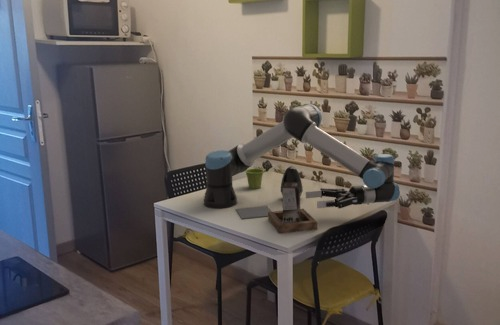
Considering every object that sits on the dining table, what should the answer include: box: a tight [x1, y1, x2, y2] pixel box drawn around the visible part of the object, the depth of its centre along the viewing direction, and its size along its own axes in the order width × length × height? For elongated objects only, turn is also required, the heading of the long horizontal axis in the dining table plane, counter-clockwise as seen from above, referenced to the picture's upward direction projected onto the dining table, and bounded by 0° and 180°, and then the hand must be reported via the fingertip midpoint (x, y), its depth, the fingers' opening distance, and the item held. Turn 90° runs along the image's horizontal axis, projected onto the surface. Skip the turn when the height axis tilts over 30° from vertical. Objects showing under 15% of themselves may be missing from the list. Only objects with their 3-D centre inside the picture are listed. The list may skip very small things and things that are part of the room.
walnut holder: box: [267, 208, 318, 234], centre depth 196 cm, size 15×17×3 cm
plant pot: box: [244, 168, 265, 190], centre depth 250 cm, size 9×9×9 cm
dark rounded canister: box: [280, 165, 304, 197], centre depth 228 cm, size 10×10×15 cm
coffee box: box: [282, 182, 301, 224], centre depth 195 cm, size 9×6×16 cm
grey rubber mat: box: [235, 205, 273, 220], centre depth 211 cm, size 14×13×1 cm
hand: (311, 199), depth 196 cm, fingers open, 13 cm apart
